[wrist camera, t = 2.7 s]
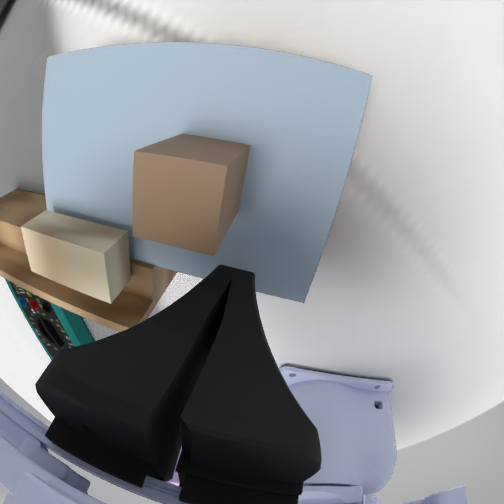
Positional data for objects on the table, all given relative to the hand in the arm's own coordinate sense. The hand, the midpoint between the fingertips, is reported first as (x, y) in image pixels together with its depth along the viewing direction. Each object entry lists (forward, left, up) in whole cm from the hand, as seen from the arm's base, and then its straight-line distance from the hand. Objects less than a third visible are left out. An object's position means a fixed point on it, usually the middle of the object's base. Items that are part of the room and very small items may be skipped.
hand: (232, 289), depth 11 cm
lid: (+4, -4, -3) cm, 6 cm away
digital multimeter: (+16, +14, -6) cm, 22 cm away
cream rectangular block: (+7, 0, 0) cm, 7 cm away
